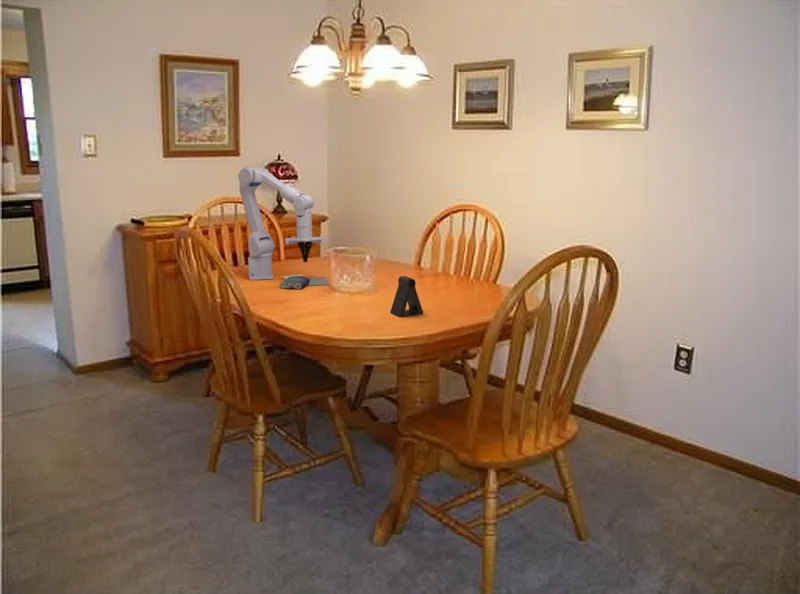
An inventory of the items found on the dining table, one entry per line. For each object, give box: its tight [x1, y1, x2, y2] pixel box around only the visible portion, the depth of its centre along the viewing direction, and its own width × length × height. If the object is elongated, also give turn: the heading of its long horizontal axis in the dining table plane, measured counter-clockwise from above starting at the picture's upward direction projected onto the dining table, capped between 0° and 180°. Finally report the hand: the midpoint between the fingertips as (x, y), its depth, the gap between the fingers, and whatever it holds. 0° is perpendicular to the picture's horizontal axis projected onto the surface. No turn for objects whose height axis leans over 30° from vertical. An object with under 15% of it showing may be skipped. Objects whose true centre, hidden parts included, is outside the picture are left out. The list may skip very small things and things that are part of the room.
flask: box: [279, 275, 310, 290], centre depth 260 cm, size 9×3×11 cm
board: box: [306, 276, 331, 287], centre depth 269 cm, size 8×14×1 cm, turn 13°
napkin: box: [282, 274, 304, 280], centre depth 276 cm, size 8×6×1 cm
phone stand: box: [390, 275, 424, 318], centre depth 222 cm, size 9×6×12 cm, turn 120°
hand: (305, 261), depth 265 cm, fingers closed
